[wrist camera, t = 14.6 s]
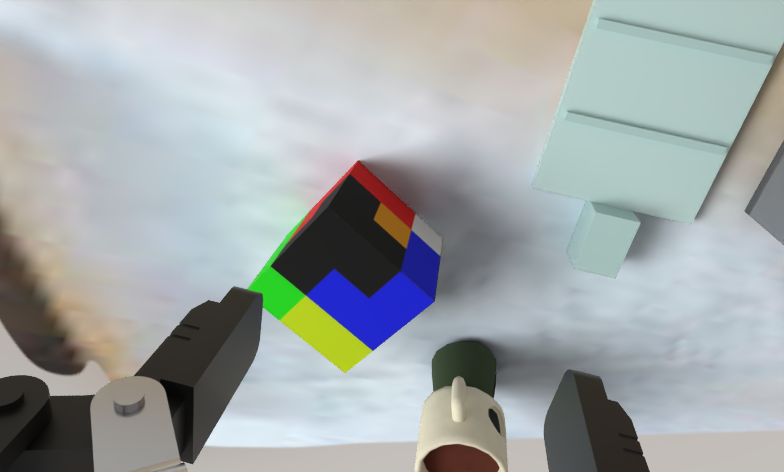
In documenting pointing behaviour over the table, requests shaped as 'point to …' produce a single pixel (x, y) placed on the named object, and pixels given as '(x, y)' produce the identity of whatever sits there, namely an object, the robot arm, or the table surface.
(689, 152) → the lid
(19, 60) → the table surface
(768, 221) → the tub
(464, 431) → the character mug
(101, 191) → the table surface
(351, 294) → the puzzle toy
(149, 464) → the robot arm
